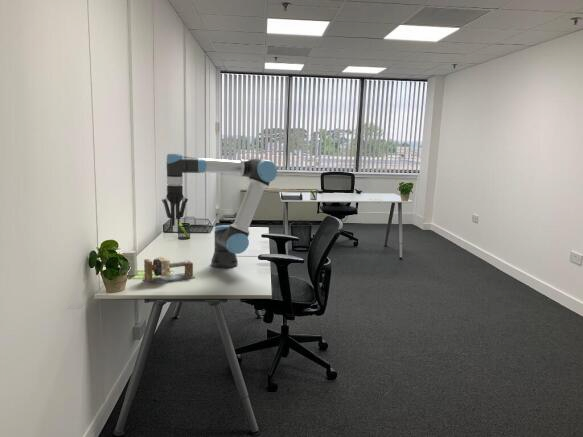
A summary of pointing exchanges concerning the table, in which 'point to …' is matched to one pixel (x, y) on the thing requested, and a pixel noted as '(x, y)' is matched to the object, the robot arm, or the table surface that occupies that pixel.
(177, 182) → the robot arm
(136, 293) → the table surface
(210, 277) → the table surface
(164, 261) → the sleeve
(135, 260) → the skincare box
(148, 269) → the pipe stand
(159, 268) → the o-ring
